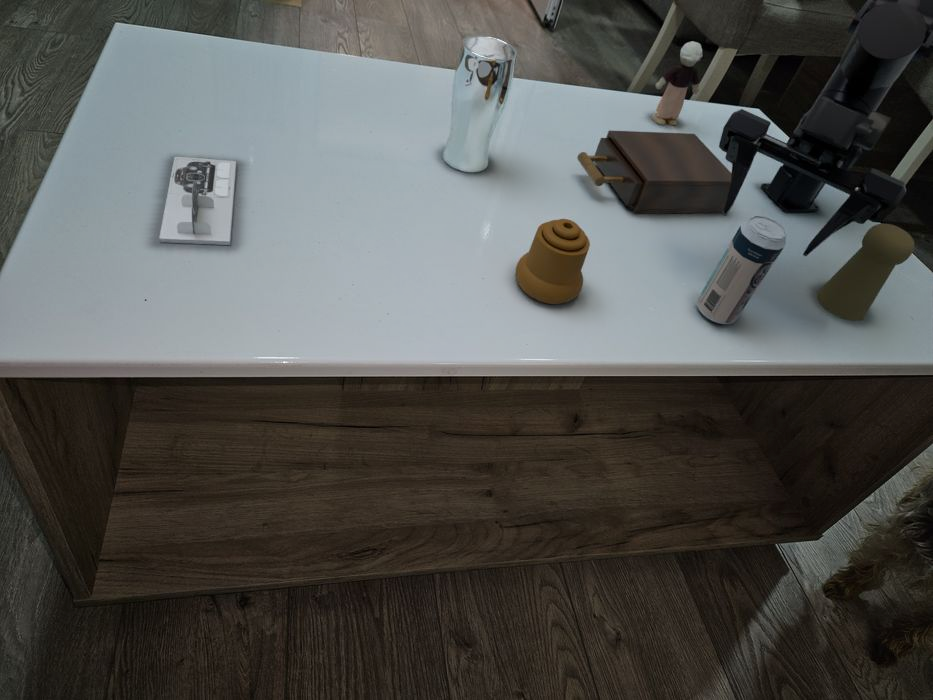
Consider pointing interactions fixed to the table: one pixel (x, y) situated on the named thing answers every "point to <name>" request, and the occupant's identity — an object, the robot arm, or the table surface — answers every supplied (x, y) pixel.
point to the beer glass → (478, 100)
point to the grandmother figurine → (678, 84)
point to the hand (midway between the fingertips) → (764, 233)
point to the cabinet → (674, 172)
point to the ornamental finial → (554, 262)
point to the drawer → (613, 171)
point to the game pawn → (866, 272)
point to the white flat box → (199, 202)
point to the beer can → (741, 269)
